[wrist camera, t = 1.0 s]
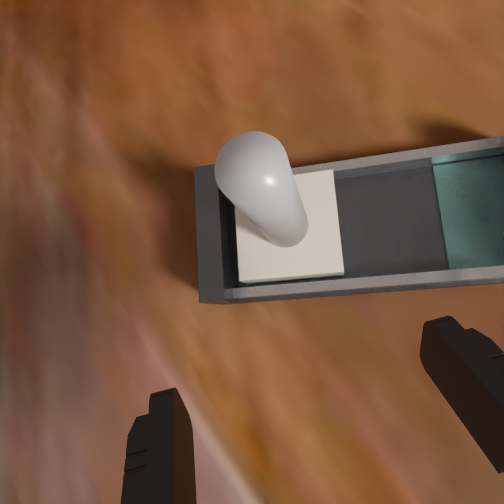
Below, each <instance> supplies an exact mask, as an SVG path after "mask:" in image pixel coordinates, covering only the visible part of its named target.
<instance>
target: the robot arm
mask: <svg viewBox="0 0 504 504" xmlns="http://www.w3.org/2000/svg"><path fill="white" fill-rule="evenodd" d="M420 358H421V362H422V364H423V367H424V369H425V370H426V372H427V373H428V375H429V376H430V378H431V379H432V380H433V382H434V383H435V385H436V386H437V388H438V389H439V390H440V392H441V393H442V395H443V396H444V397H445V399H446V400H447V402H448V403H449V404H450V406H451V407H452V409H453V410H454V411H455V413H456V414H457V416H458V417H459V418H460V420H461V421H462V423H463V424H464V426H465V427H466V428H467V430H468V431H469V433H470V434H471V435H472V437H473V438H474V440H475V441H476V442H477V444H478V445H479V447H480V448H481V449H482V451H483V452H484V454H485V455H486V456H487V458H488V459H489V461H490V462H491V464H492V465H493V466H494V468H495V469H496V471H497V472H498V473H503V472H504V352H503V351H502V350H501V349H500V348H499V347H498V346H497V345H496V344H495V343H494V342H493V341H492V340H491V339H490V338H489V337H487V336H485V335H483V334H482V333H480V332H478V331H476V330H475V329H473V328H470V329H466V330H465V329H464V328H463V327H462V326H461V325H460V324H459V323H458V322H457V321H456V320H455V319H454V318H453V317H451V316H445V317H442V318H438V319H434V320H430V321H426V322H425V323H424V326H423V333H422V340H421V347H420ZM124 472H125V475H124V477H123V487H122V497H121V504H196V484H195V464H194V445H193V430H192V424H191V420H190V416H189V414H188V411H187V409H186V407H185V405H184V403H183V401H182V399H181V397H180V394H179V392H178V390H177V389H176V388H171V389H167V390H163V391H160V392H156V393H152V394H151V395H150V400H149V414H146V415H143V416H139V417H136V419H135V421H134V424H133V426H132V428H131V430H130V432H129V434H128V439H127V448H126V459H125V468H124Z"/></svg>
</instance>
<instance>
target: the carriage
mask: <svg viewBox="0 0 504 504" xmlns="http://www.w3.org/2000/svg"><path fill="white" fill-rule="evenodd" d="M214 173H215V179H216V182H217V185H218V187H219V188H220V190H221V191H222V192H223V193H224V194H225V196H226V197H227V198H228V199H229V200H230V201H231V202H232V203H233V204H234V205H235V219H236V235H237V252H238V269H239V281H240V282H244V283H247V284H253V283H265V282H276V281H288V280H299V279H311V278H322V277H333V276H344V265H343V256H342V247H341V238H340V229H339V220H338V211H337V202H336V193H335V184H334V175H333V169H331V170H324V171H317V172H310V173H303V174H297V175H293V173H292V170H291V166H290V163H289V160H288V157H287V154H286V151H285V149H284V147H283V146H282V144H281V143H280V142H279V141H278V140H277V139H276V138H275V137H273V136H271V135H269V134H267V133H264V132H258V131H251V132H245V133H242V134H239V135H237V136H235V137H233V138H232V139H230V140H229V141H228V142H227V143H226V144H225V145H224V146H223V147H222V149H221V150H220V152H219V154H218V156H217V158H216V162H215V168H214Z"/></svg>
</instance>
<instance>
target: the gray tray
mask: <svg viewBox="0 0 504 504" xmlns="http://www.w3.org/2000/svg"><path fill="white" fill-rule="evenodd" d="M214 168H215V164H213V165H206V166H200V167H194V186H195V211H196V236H197V261H198V285H199V303H207V304H236V303H249V302H262V301H275V300H289V299H302V298H315V297H328V296H341V295H354V294H367V293H380V292H393V291H407V290H420V289H433V288H446V287H459V286H472V285H485V284H498V283H504V136H501V137H494V138H487V139H481V140H474V141H468V142H461V143H455V144H448V145H441V146H435V147H428V148H422V149H415V150H408V151H402V152H395V153H389V154H382V155H376V156H369V157H362V158H356V159H349V160H343V161H336V162H329V163H323V164H316V165H310V166H303V167H297V168H291V170H292V173H293V175H297V174H303V173H310V172H317V171H324V170H331V169H333V175H334V184H335V193H336V202H337V211H338V220H339V229H340V238H341V247H342V256H343V265H344V276H333V277H322V278H311V279H299V280H288V281H276V282H265V283H253V284H247V283H244V282H240V281H239V269H238V252H237V235H236V219H235V205H234V204H233V203H232V202H231V201H230V200H229V199H228V198H227V197H226V196H225V194H224V193H223V192H222V191H221V190H220V188H219V187H218V185H217V182H216V179H215V173H214Z"/></svg>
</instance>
